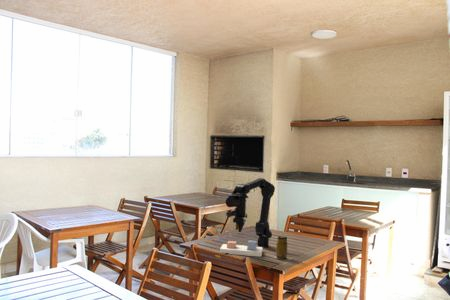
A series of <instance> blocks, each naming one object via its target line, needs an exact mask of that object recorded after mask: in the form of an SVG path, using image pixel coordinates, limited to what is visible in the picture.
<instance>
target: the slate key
mask: <svg viewBox="0 0 450 300" xmlns="http://www.w3.org/2000/svg"><path fill="white" fill-rule="evenodd" d="M246 246H247V249H253V250H256V247H258V240H251V239H249V240H247V245H246Z"/></svg>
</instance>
